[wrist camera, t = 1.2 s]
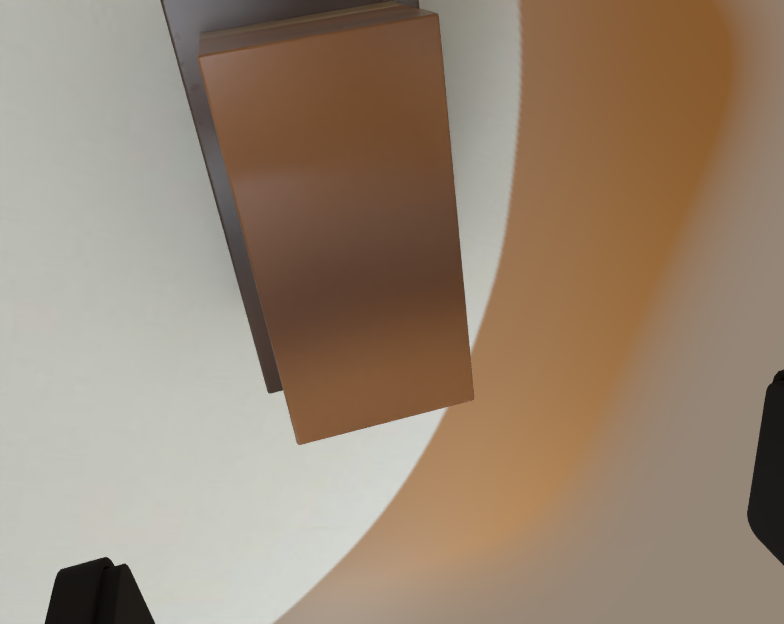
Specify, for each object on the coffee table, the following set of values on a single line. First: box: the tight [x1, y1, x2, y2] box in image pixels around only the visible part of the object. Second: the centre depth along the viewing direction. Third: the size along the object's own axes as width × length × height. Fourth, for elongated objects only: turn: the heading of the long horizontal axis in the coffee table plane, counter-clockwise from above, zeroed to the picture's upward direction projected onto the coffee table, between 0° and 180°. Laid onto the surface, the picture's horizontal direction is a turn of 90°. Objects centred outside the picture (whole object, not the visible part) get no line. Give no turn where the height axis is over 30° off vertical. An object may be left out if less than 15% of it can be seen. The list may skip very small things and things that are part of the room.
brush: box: [197, 1, 474, 445], centre depth 20 cm, size 11×6×4 cm, turn 8°
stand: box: [161, 0, 419, 393], centre depth 25 cm, size 13×7×7 cm, turn 8°
